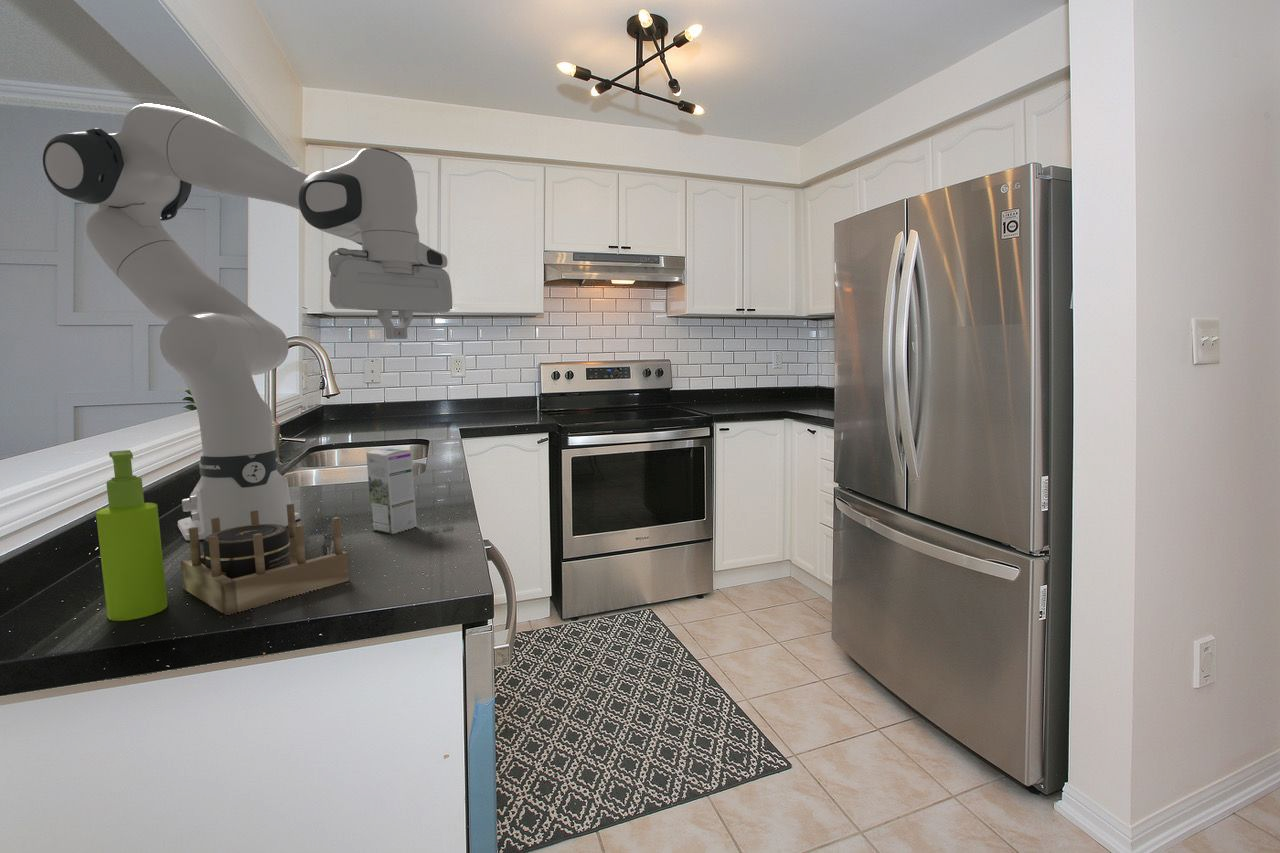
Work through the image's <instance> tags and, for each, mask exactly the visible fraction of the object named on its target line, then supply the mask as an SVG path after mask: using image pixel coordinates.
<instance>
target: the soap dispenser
mask: <svg viewBox="0 0 1280 853" xmlns="http://www.w3.org/2000/svg"><path fill="white" fill-rule="evenodd" d="M108 455H109V458H111V459H112V463H113V473H114V477H111V479H109V480H107V481H106V483H105V484H106V492H107V500H108V506H107V507H104V508H100V509H98V510H97V511H96V512H95V517H96V518H95V520H96V527H97V535H98V546H99V555H100V562H101V572H102V582H103V586H104V587H103V590H104V598H105V599H104V600H105V606H106V607H105V608H106V616H107V619H108V620H109V621H115V622H116V621H117V622H121V621H123V622H125V621H132V620H133V621H134V620H137V619H141V618H146V617H150V616H152V615H156V614H157V613H160V612H163V611H164V610H166V608H167V607H168V598H167V597H168V596H167V587H166V578H165V568H164V567H165V566H164V559H163V549H162V548H163V547H162V538H161V528H160V527H161V526H160V519H159V508H158V504H157V503H154V502H146V501H145V496H144V488H143V478H142V477H139V476H137V475H135V474H133V466H132V465H133V464H132V460H133V458H134V455H133V453H132V451H131V450H129V449H126V450H125V449H123V450H115V451H109V453H108Z"/></svg>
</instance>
